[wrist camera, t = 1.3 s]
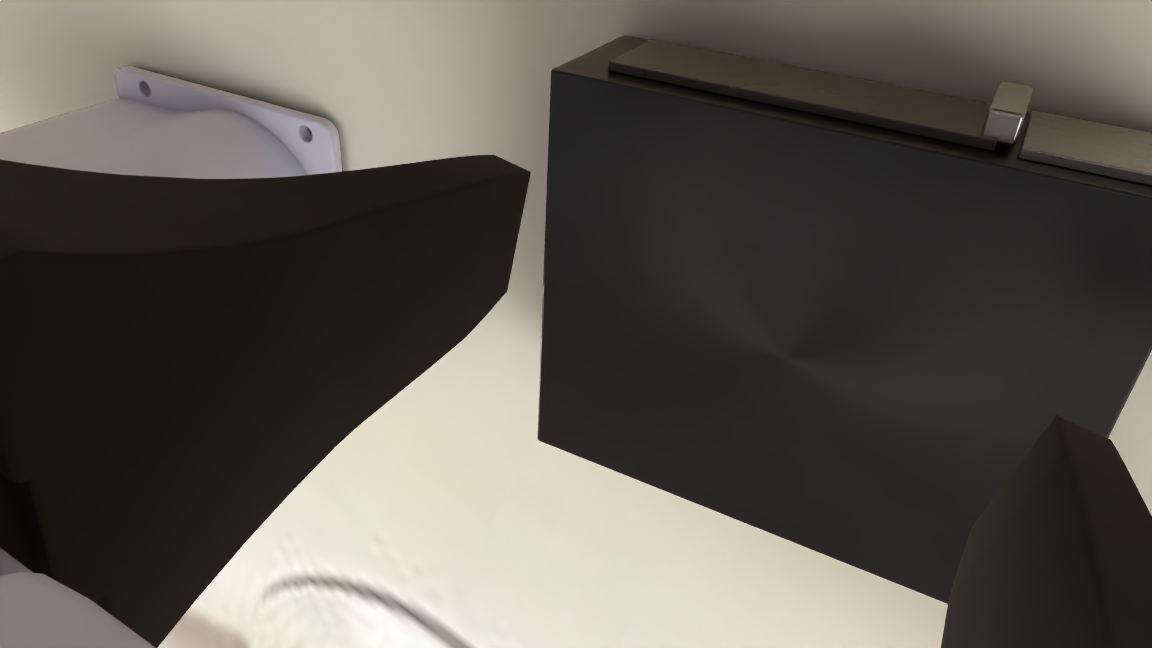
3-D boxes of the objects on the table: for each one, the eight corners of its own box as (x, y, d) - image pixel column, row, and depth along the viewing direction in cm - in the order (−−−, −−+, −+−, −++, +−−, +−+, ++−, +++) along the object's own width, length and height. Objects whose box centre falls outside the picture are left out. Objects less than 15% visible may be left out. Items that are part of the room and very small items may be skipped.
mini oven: (596, 375, 26) (536, 440, 23) (625, 4, 20) (551, 34, 18) (1026, 528, 22) (1012, 630, 19) (1222, 108, 16) (1241, 171, 13)
